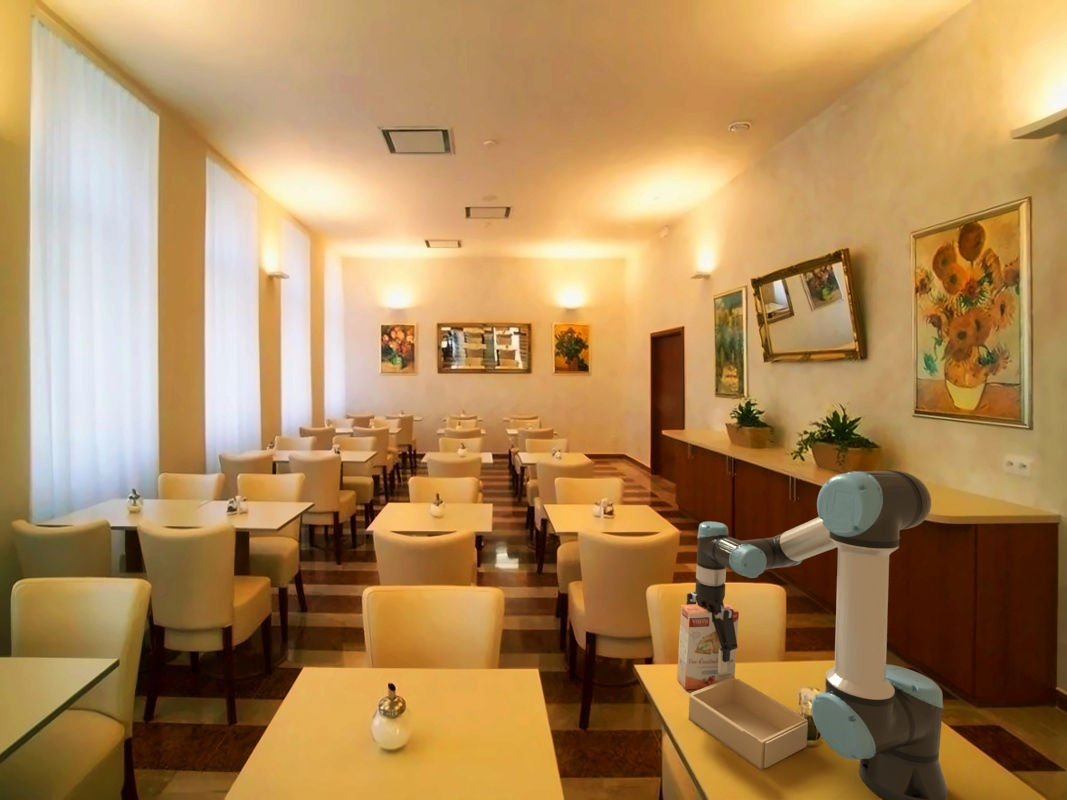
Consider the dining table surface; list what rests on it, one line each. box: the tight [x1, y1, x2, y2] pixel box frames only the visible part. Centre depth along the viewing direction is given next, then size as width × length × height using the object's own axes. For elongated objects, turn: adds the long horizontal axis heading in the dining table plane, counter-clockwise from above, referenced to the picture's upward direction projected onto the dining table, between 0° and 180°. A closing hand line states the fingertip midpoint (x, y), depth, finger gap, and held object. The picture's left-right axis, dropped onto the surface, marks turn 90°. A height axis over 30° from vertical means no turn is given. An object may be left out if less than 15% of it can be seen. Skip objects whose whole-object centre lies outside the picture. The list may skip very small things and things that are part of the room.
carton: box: [688, 677, 809, 771], centre depth 132 cm, size 21×16×6 cm
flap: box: [676, 686, 758, 741], centre depth 126 cm, size 19×1×6 cm
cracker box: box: [676, 602, 740, 691], centre depth 152 cm, size 14×6×21 cm, turn 99°
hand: (706, 663), depth 152 cm, fingers open, 10 cm apart
